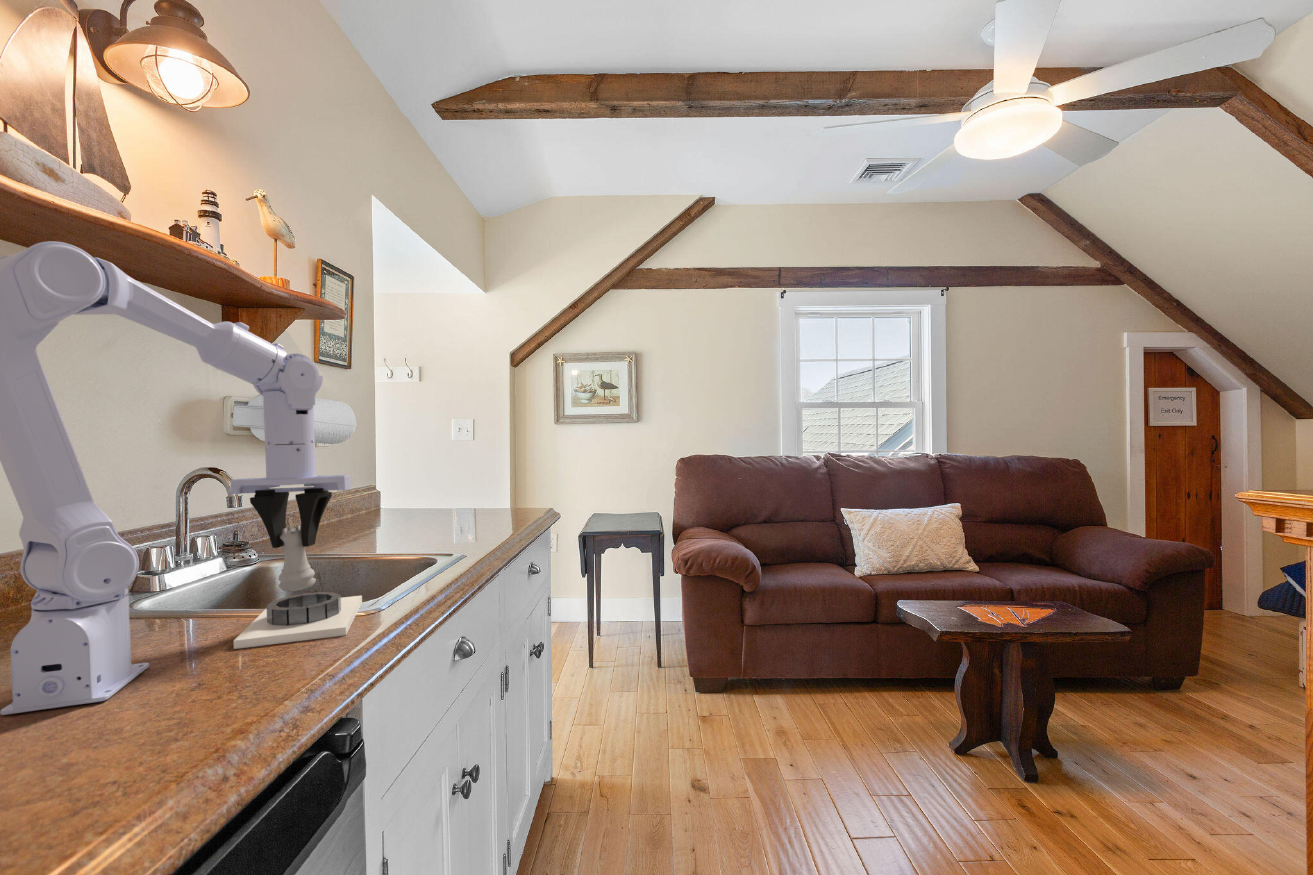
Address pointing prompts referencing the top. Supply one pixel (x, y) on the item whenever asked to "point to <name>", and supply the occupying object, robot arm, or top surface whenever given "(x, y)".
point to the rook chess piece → (295, 562)
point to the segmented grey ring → (303, 608)
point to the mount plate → (299, 627)
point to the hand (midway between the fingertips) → (294, 545)
